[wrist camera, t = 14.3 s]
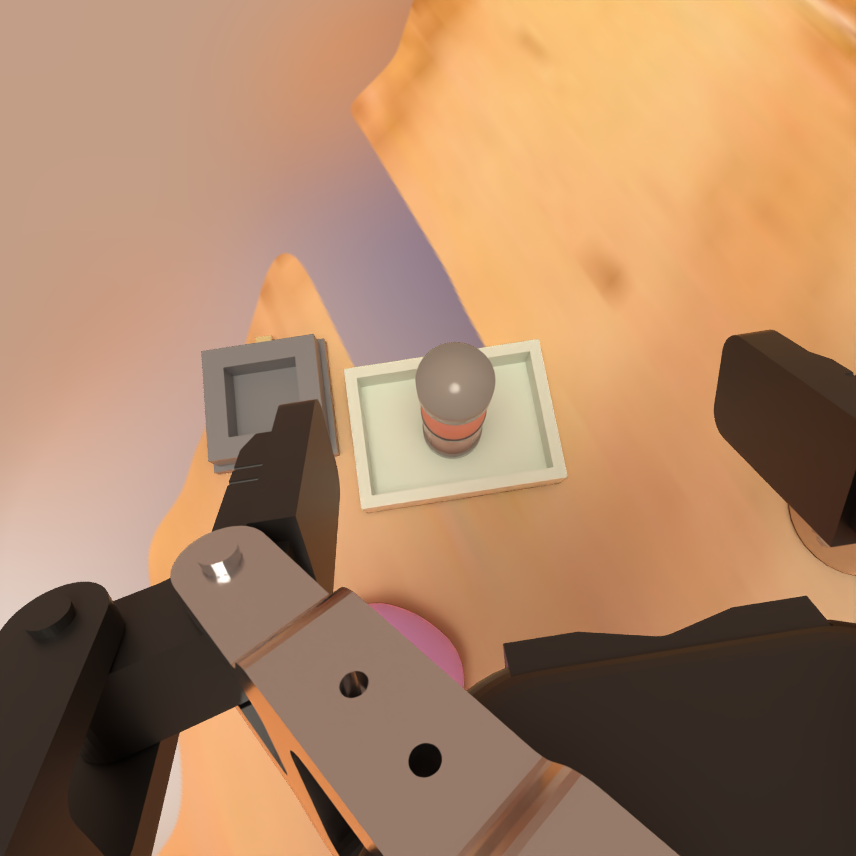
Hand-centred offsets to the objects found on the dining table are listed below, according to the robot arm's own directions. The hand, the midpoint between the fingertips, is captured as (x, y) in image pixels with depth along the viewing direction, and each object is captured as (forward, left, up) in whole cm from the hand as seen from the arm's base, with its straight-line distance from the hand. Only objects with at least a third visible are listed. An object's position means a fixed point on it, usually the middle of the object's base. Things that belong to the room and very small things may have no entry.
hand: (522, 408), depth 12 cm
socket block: (+13, -11, -31) cm, 35 cm away
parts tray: (0, -7, -31) cm, 31 cm away
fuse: (0, -7, -30) cm, 31 cm away
